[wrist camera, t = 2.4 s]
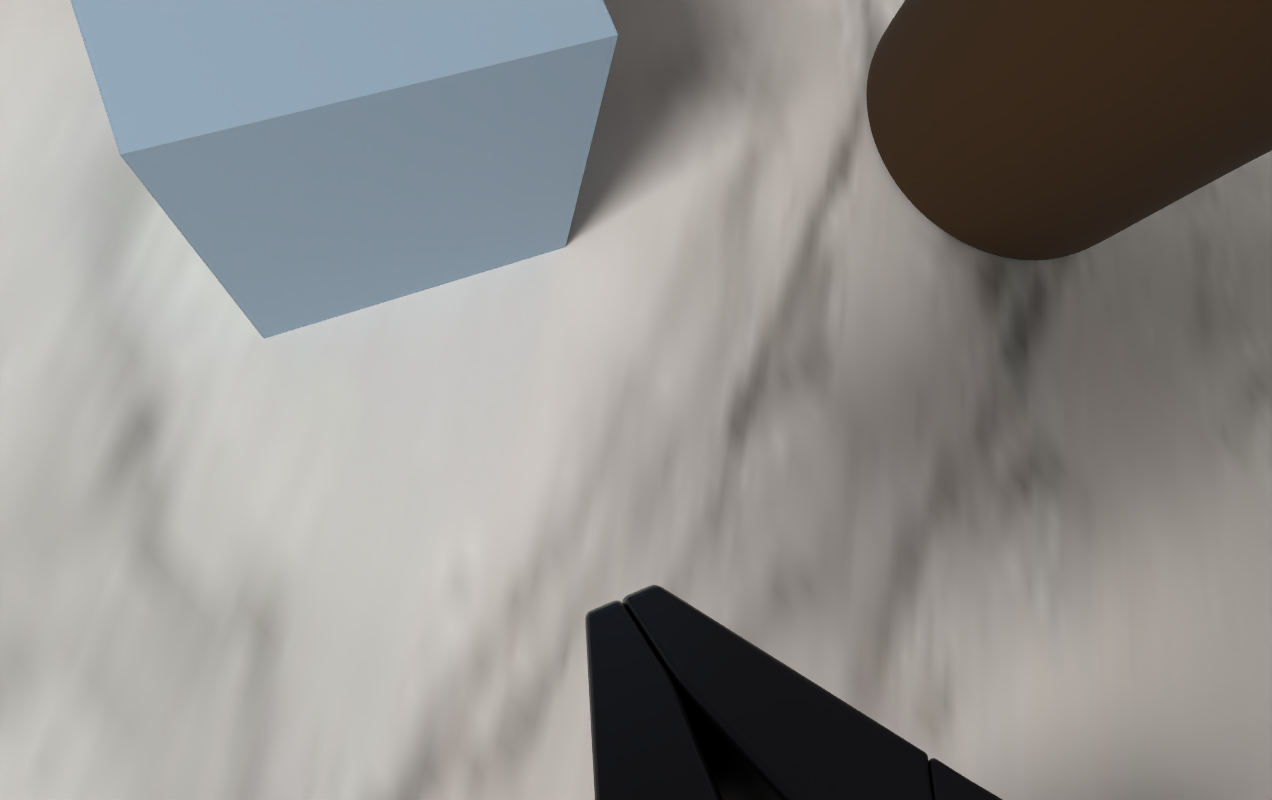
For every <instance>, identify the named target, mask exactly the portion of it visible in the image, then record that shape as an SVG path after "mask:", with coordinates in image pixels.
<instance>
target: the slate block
mask: <svg viewBox="0 0 1272 800" xmlns="http://www.w3.org/2000/svg"><path fill="white" fill-rule="evenodd" d="M71 3H72V6H73V9H74V12H75V16H76V19H77V22H78V25H79V28H80V31H81V34H82V37H83V41H84V44H85V47H86V50H87V53H88V56H89V59H90V62H91V66H92V69H93V72H94V75H95V78H96V81H97V84H98V87H99V91H100V94H101V97H102V100H103V103H104V106H105V109H106V112H107V116H108V119H109V122H110V125H111V128H112V131H113V134H114V137H115V141H116V144H117V147H118V150H119V153H120V155H121V157H122V158H123V159H124V160H125V162H126V163H127V164H128V166H129V167H130V168H131V169H132V171H133V172H134V173H135V174H136V176H137V177H138V178H139V180H140V181H141V182H142V183H143V185H144V186H145V187H146V189H147V190H148V191H149V192H150V194H151V195H152V196H153V198H154V199H155V200H156V201H157V203H158V204H159V205H160V206H161V208H162V209H163V210H164V212H165V213H166V214H167V215H168V217H169V218H170V219H171V221H172V222H173V223H174V224H175V226H176V227H177V228H178V229H179V231H180V232H181V233H182V235H183V236H184V237H185V238H186V240H187V241H188V242H189V244H190V245H191V246H192V247H193V249H194V250H195V251H196V252H197V254H198V255H199V256H200V258H201V259H202V260H203V261H204V263H205V264H206V265H207V267H208V268H209V269H210V270H211V272H212V273H213V274H214V275H215V277H216V278H217V279H218V281H219V282H220V283H221V284H222V286H223V287H224V288H225V290H226V291H227V292H228V293H229V295H230V296H231V297H232V299H233V300H234V301H235V302H236V304H237V305H238V306H239V307H240V309H241V310H242V311H243V313H244V314H245V315H246V316H247V318H248V319H249V320H250V322H251V323H252V324H253V325H254V327H255V328H256V329H257V330H258V332H259V333H260V334H261V336H262V337H263V338H267V337H271V336H274V335H277V334H281V333H284V332H287V331H290V330H294V329H297V328H300V327H304V326H307V325H310V324H313V323H317V322H320V321H323V320H327V319H330V318H333V317H337V316H340V315H343V314H346V313H350V312H353V311H356V310H360V309H363V308H366V307H369V306H373V305H376V304H379V303H383V302H386V301H389V300H392V299H396V298H399V297H402V296H406V295H409V294H412V293H416V292H419V291H422V290H425V289H429V288H432V287H435V286H439V285H442V284H445V283H448V282H452V281H455V280H458V279H462V278H465V277H468V276H472V275H475V274H478V273H481V272H485V271H488V270H491V269H495V268H498V267H501V266H504V265H508V264H511V263H514V262H518V261H521V260H524V259H527V258H531V257H534V256H537V255H541V254H544V253H547V252H551V251H554V250H557V249H560V248H564V247H566V243H567V239H568V235H569V231H570V227H571V223H572V219H573V215H574V211H575V207H576V203H577V199H578V194H579V190H580V186H581V182H582V178H583V174H584V170H585V166H586V162H587V158H588V154H589V150H590V146H591V142H592V138H593V134H594V130H595V126H596V122H597V118H598V114H599V110H600V106H601V102H602V98H603V94H604V90H605V86H606V82H607V78H608V74H609V70H610V66H611V62H612V58H613V53H614V49H615V45H616V41H617V37H618V33H617V31H616V29H615V27H614V24H613V22H612V20H611V17H610V15H609V13H608V10H607V8H606V6H605V3H604V1H603V0H71Z"/></svg>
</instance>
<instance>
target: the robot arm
mask: <svg viewBox="0 0 1272 800" xmlns="http://www.w3.org/2000/svg"><path fill="white" fill-rule="evenodd" d="M586 641H587V659H588V678H589V697H590V715H591V734H592V753H593V771H594V790H595V800H1002V799H1000V798H999V797H997V796H995V795H994V794H992V793H990V792H989V791H987V790H985V789H984V788H982V787H980V786H978V785H977V784H975V783H973V782H972V781H970V780H968V779H967V778H965V777H964V776H962V775H961V774H959V773H957V772H956V771H954V770H953V769H951V768H949V767H948V766H946V765H945V764H943V763H942V762H940V761H938V760H937V759H935V758H932V759H930V760H928V756H927V754H926V753H925V752H924V751H922V750H920V749H919V748H917V747H916V746H914V745H912V744H911V743H909V742H908V741H906V740H904V739H903V738H901V737H900V736H898V735H896V734H895V733H893V732H892V731H890V730H888V729H887V728H885V727H884V726H882V725H881V724H879V723H877V722H876V721H874V720H873V719H871V718H869V717H868V716H866V715H865V714H863V713H861V712H860V711H858V710H857V709H855V708H853V707H852V706H850V705H849V704H847V703H845V702H844V701H842V700H841V699H839V698H837V697H836V696H834V695H833V694H831V693H830V692H828V691H826V690H825V689H823V688H822V687H820V686H818V685H817V684H815V683H814V682H812V681H810V680H809V679H807V678H806V677H804V676H802V675H801V674H799V673H798V672H796V671H794V670H793V669H791V668H790V667H788V666H786V665H785V664H783V663H782V662H780V661H779V660H777V659H775V658H774V657H772V656H771V655H769V654H767V653H766V652H764V651H763V650H761V649H759V648H758V647H756V646H755V645H753V644H751V643H750V642H748V641H747V640H745V639H743V638H742V637H740V636H739V635H737V634H735V633H734V632H732V631H731V630H729V629H728V628H726V627H724V626H723V625H721V624H720V623H718V622H716V621H715V620H713V619H712V618H710V617H708V616H707V615H705V614H704V613H702V612H700V611H699V610H697V609H696V608H694V607H692V606H691V605H689V604H688V603H686V602H684V601H683V600H681V599H680V598H678V597H677V596H675V595H673V594H672V593H670V592H669V591H667V590H665V589H664V588H662V587H660V586H657V585H652V586H648V587H646V588H644V589H641V590H639V591H637V592H634V593H632V594H629V595H627V596H626V597H625V598H624V599H623V602H622V603H621V602H620V601H613V602H610V603H608V604H606V605H603V606H601V607H598V608H596V609H594V610H591V611H589V612H588V613H587V615H586Z"/></svg>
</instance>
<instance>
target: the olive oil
mask: <svg viewBox="0 0 1272 800" xmlns="http://www.w3.org/2000/svg"><path fill="white" fill-rule="evenodd" d="M867 109H868V117H869V122H870V127H871V131H872V134H873V138H874V141H875V144H876V146H877V149H878V151H879V154H880V156H881V158H882V160H883V162H884V164H885V166H886V168H887V170H888V171H889V173H890V175H891V176H892V178H893V179H894V181H895V182H896V184H897V185H898V187H899V188H900V189H901V191H902V192H903V193H904V194H905V195H906V197H907V198H908V199H909V200H910V201H911V202H912V203H913V205H914V206H915V207H916V208H917V209H918V210H919V211H920V212H921V213H923V214H924V215H925V216H926V217H927V218H928V219H929V220H931V221H932V222H933V223H934V224H936V225H937V226H938V227H940V228H941V229H942V230H944V231H945V232H947V233H948V234H950V235H952V236H953V237H955V238H957V239H958V240H960V241H962V242H964V243H966V244H968V245H970V246H973V247H975V248H977V249H980V250H982V251H985V252H988V253H991V254H995V255H998V256H1003V257H1007V258H1013V259H1022V260H1046V259H1054V258H1059V257H1064V256H1067V255H1071V254H1074V253H1077V252H1080V251H1082V250H1085V249H1087V248H1089V247H1091V246H1093V245H1095V244H1097V243H1099V242H1101V241H1103V240H1105V239H1107V238H1109V237H1111V236H1113V235H1114V234H1116V233H1118V232H1120V231H1122V230H1124V229H1126V228H1127V227H1129V226H1131V225H1133V224H1135V223H1137V222H1138V221H1140V220H1142V219H1144V218H1146V217H1148V216H1149V215H1151V214H1153V213H1155V212H1157V211H1159V210H1161V209H1162V208H1164V207H1166V206H1168V205H1170V204H1172V203H1173V202H1175V201H1177V200H1179V199H1181V198H1183V197H1184V196H1186V195H1188V194H1190V193H1192V192H1194V191H1196V190H1197V189H1199V188H1201V187H1203V186H1205V185H1207V184H1208V183H1210V182H1212V181H1214V180H1216V179H1218V178H1220V177H1221V176H1223V175H1225V174H1227V173H1229V172H1231V171H1233V170H1235V169H1236V168H1238V167H1240V166H1242V165H1244V164H1246V163H1248V162H1250V161H1252V160H1254V159H1256V158H1258V157H1259V156H1261V155H1263V154H1265V153H1267V152H1269V151H1271V150H1272V0H905V2H904V3H903V5H902V6H901V8H900V9H899V11H898V12H897V14H896V15H895V17H894V18H893V20H892V21H891V23H890V25H889V26H888V28H887V29H886V31H885V33H884V34H883V36H882V38H881V40H880V42H879V44H878V46H877V48H876V51H875V53H874V56H873V59H872V62H871V65H870V70H869V75H868V82H867Z"/></svg>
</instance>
